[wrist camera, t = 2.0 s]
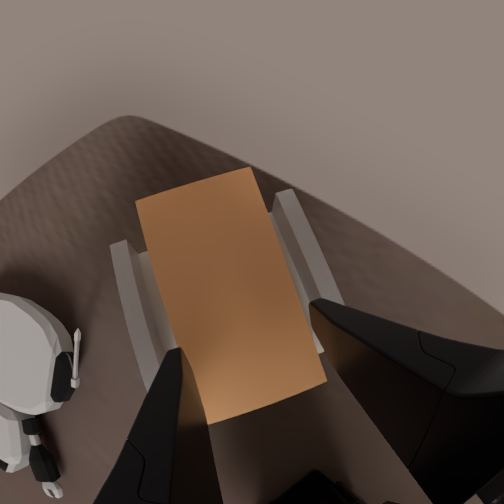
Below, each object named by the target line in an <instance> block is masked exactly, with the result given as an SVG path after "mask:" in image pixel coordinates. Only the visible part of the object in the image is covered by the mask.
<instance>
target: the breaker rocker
mask: <svg viewBox="0 0 504 504" xmlns="http://www.w3.org/2000/svg"><path fill="white" fill-rule="evenodd" d="M135 202H136V206H137V211H138V215H139V219H140V223H141V227H142V231H143V235H144V239H145V242H146V246H147V250H148V254H149V257H150V261H151V264H152V268H153V271H154V275H155V278H156V282H157V285H158V288H159V291H160V295H161V298H162V301H163V304H164V307H165V311H166V314H167V317H168V320H169V323H170V326H171V329H172V332H173V335H174V338H175V340H176V343H177V346H178V347H181V348H182V349H183V351H184V353H185V355H186V357H187V359H188V361H189V363H190V365H191V368H192V370H193V373H194V377H195V380H196V384H197V387H198V391H199V394H200V397H201V401H202V404H203V407H204V411H205V414H206V419H207V423H208V425H209V424H212V423H216V422H219V421H222V420H225V419H229V418H232V417H235V416H238V415H241V414H244V413H247V412H250V411H253V410H256V409H259V408H261V407H264V406H267V405H270V404H272V403H275V402H278V401H280V400H283V399H286V398H288V397H291V396H293V395H296V394H298V393H301V392H303V391H306V390H308V389H310V388H313V387H315V386H317V385H320V384H322V383H324V382H327V379H326V376H325V373H324V370H323V367H322V364H321V361H320V358H319V355H318V352H317V349H316V346H315V343H314V340H313V337H312V334H311V331H310V328H309V326H308V323H307V320H306V317H305V314H304V311H303V308H302V305H301V303H300V300H299V297H298V294H297V291H296V288H295V286H294V283H293V280H292V277H291V274H290V272H289V269H288V266H287V263H286V261H285V258H284V255H283V252H282V250H281V247H280V244H279V241H278V239H277V236H276V233H275V230H274V228H273V225H272V222H271V220H270V217H269V214H268V212H267V209H266V206H265V204H264V201H263V198H262V196H261V193H260V190H259V188H258V185H257V183H256V180H255V177H254V175H253V172H252V170H251V167H246V168H242V169H239V170H235V171H231V172H228V173H224V174H220V175H217V176H213V177H210V178H206V179H203V180H200V181H196V182H193V183H190V184H186V185H183V186H180V187H177V188H173V189H170V190H167V191H164V192H161V193H158V194H155V195H152V196H149V197H146V198H143V199H140V200H137V201H135Z"/></svg>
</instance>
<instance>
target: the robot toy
mask: <svg viewBox="0 0 504 504" xmlns="http://www.w3.org/2000/svg"><path fill="white" fill-rule="evenodd" d="M80 340H81V332H80V330H79V328H78V329H77V330H76V332H75V333H74V341H75V346H74V350H73V345H72V340H71V336H70V335H69V333H68V332H67V330H66V328H65V327H64V325H63V324H62V323H61V322H60V321H59V320H58V319H57V318H56V317H55V316H53V315H52V314H51V313H50V312H48V311H47V310H45V309H44V308H42V307H41V306H39V305H38V304H36V303H35V302H33V301H32V300H29V299H26V298H22V297H19V296H15V295H10V294H5V293H0V468H1V469H2V470H4V471H6V472H11V473H13V472H15V471H17V470H20V469H22V468H24V467H26V466H28V464H29V463H30V466H31V468H32V471H33V473H34V476H35V479H36V480H37V481H40V482H43V489H44V491H45V492H46V494H47V495H48V496H50V497H54V496H55V497H56V498H61V497H62V496H63V490H62V486H61V485H60V484H59V483H58V482H57V481H56V480H57V479H59V477H60V473H59V470H58V468H57V465H56V462H55V459H54V457H53V456H52V454H51V453H50V452H49V451H48V450H47V449H46V448H45V447H44V446H43V445H42V444H41V441H40V438H39V435H38V434H39V433H41V431H42V429H41V425H40V422H39V418H35V416H34V415H37V414H41V413H45V412H49V411H52V410H56V409H59V408H60V407H61V405H62V403H63V402H65V401H69V400H70V398H71V396H72V394H73V392H74V391H75V389H76V388H77V387H78V386H79V381H80V378H78V356H79V341H80Z"/></svg>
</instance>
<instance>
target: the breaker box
mask: <svg viewBox="0 0 504 504" xmlns="http://www.w3.org/2000/svg"><path fill="white" fill-rule="evenodd" d="M268 214H269V217H270V220H271V222H272V225H273V228H274V230H275V233H276V236H277V239H278V241H279V244H280V247H281V250H282V252H283V255H284V258H285V261H286V263H287V266H288V269H289V272H290V274H291V277H292V280H293V283H294V286H295V288H296V291H297V294H298V297H299V300H300V303H301V305H302V308H303V311H304V314H305V317H306V320H307V323H308V326H309V328H310V331H311V334H312V337H313V340H314V343H315V346H316V349H317V352H318V354H319V353H322V352H324V349H323V348H322V346H321V344H320V342H319V340H318V339H317V337H316V335H315V333H314V331H313V329H312V326H311V322H310V315H309V307H308V305H309V302H310V301H313V300H315V299H318V298H324V299H327V300H330V301H333V302H336V303H339V304H342V305H345V304H344V301H343V299H342V297H341V294H340V292H339V290H338V287H337V285H336V283H335V280H334V278H333V276H332V273H331V271H330V269H329V267H328V264H327V262H326V260H325V257H324V255H323V253H322V251H321V249H320V246H319V244H318V242H317V240H316V238H315V235H314V233H313V231H312V229H311V227H310V225H309V222H308V220H307V218H306V216H305V214H304V212H303V210H302V208H301V206H300V203H299V201H298V199H297V197H296V195H295V193H294V191H293V189H288V190H284V191H281V192H277V193H276V194H275V199H274V203H273V208H272V212H270V213H268ZM110 250H111V256H112V261H113V266H114V271H115V276H116V281H117V285H118V290H119V294H120V299H121V303H122V307H123V311H124V315H125V319H126V323H127V327H128V331H129V334H130V338H131V342H132V345H133V349H134V352H135V356H136V359H137V362H138V366H139V369H140V372H141V375H142V378H143V381H144V384H145V387H146V390H147V393H148V391H149V389H150V386H151V384H152V382H153V380H154V378H155V376H156V374H157V371H158V369H159V367H160V365H161V363H162V361H163V359H164V357H165V355H166V352H167V351H168V350H170V349H174V348H177V347H178V346H177V343H176V340H175V338H174V335H173V332H172V329H171V326H170V323H169V320H168V317H167V314H166V311H165V307H164V304H163V301H162V298H161V295H160V291H159V288H158V285H157V282H156V278H155V275H154V271H153V268H152V264H151V261H150V257H149V254H148V251H146V252H143V253H140V254H137V252H136V251H135V250H134V249H133V247H132V246H131V245H130V244H129V242H128V241H127V240H123V241H120V242H117V243H114V244H111V245H110Z"/></svg>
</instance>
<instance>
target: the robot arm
mask: <svg viewBox="0 0 504 504" xmlns="http://www.w3.org/2000/svg"><path fill="white" fill-rule="evenodd" d="M308 307H309V315H310V322H311V326H312V329H313V331H314V333H315V335H316V337H317V339H318V340H319V342H320V344H321V346H322V348H323V349H324V351H325V353H326V355H327V357H328V359H329V360H330V362H331V364H332V366H333V367H334V369H335V370H336V372H337V373H338V375H339V376H340V378H341V379H342V380H343V382H344V383H345V384H346V386H347V387H348V388H349V390H350V391H351V393H352V394H353V395H354V397H355V398H356V399H357V401H358V402H359V404H360V405H361V406H362V408H363V409H364V410H365V412H366V413H367V414H368V416H369V417H370V419H371V420H372V421H373V423H374V424H375V425H376V427H377V428H378V429H379V431H380V432H381V434H382V435H383V436H384V438H385V439H386V440H387V442H388V443H389V444H390V446H391V447H392V449H393V450H394V451H395V453H396V454H397V455H398V457H399V458H400V459H401V461H402V462H403V464H404V465H405V466H406V468H407V469H409V472H410V473H411V475H412V476H413V477H414V479H415V480H416V481H417V483H418V484H419V486H420V487H421V488H422V490H423V491H424V492H425V494H426V495H427V496H428V498H429V499H430V500H431V502H432V503H433V504H464V503H465V502H466V501H467V500H469V499H470V498H471V497H472V496H474V495H475V494H477V495H478V497H479V498H480V499H481V500H482V502H483V503H484V504H504V350H501V349H494V348H489V347H484V346H479V345H474V344H469V343H464V342H460V341H456V340H451V339H447V338H443V337H440V336H436V335H433V334H430V333H427V332H423V331H420V330H418V331H417V329H414V328H411V327H408V326H405V325H402V324H399V323H396V322H393V321H390V320H387V319H384V318H381V317H378V316H375V315H372V314H369V313H366V312H363V311H360V310H357V309H354V308H351V307H348V306H345V305H342V304H339V303H336V302H333V301H330V300H327V299H324V298H318V299H315V300H313V301H310V302H309V305H308ZM127 439H128V440H126V441H125V444H124V446H123V448H122V450H121V452H120V455H119V457H118V459H117V461H116V463H115V465H114V467H113V469H112V471H111V472H110V474H109V476H108V478H107V480H106V482H105V483H104V485H103V487H102V488H101V490H100V492H99V494H98V495H97V497H96V499H95V500H94V502H93V504H223V499H222V495H221V490H220V486H219V481H218V476H217V472H216V467H215V462H214V457H213V451H212V446H211V441H210V435H209V430H208V424H207V419H206V414H205V411H204V407H203V404H202V401H201V397H200V394H199V391H198V387H197V384H196V380H195V377H194V373H193V370H192V368H191V365H190V363H189V361H188V359H187V357H186V355H185V353H184V351H183V349H182V348H181V347H177V348H174V349H170V350H168V351H167V352H166V355H165V357H164V359H163V361H162V363H161V365H160V367H159V369H158V371H157V374H156V376H155V378H154V380H153V382H152V384H151V386H150V389H149V391H148V393H147V395H146V397H145V399H144V402H143V404H142V406H141V408H140V410H139V413H138V415H137V417H136V419H135V421H134V424H133V426H132V428H131V430H130V433H129V435H128V437H127ZM316 474H317V475H318V477H317V478H316V479H313V478H312V477H313V476H314V475H316ZM270 504H367V503H366V502H365V501H364V500H363V499H362V498H361V497H360V496H358V495H357V494H356V493H355V492H353V491H352V490H351V489H350V488H349V487H347V486H346V485H345V484H344V483H343V482H341V481H337V482H336V483H335V484H334V483H333V482H332V481H331V480H330V479H328V478H327V477H326V476H325V475H324V474H323V473H321V472H320V471H319V470H312V471H311V472H309V473H308V474H307V475H306V476H305V477H303V478H302V479H301V480H300V481H299V482H297V483H296V484H295V485H294V486H292V487H291V488H290V489H288V490H287V491H286V492H285V493H283V494H282V495H281V496H279V497H278V498H277V499H275V500H274V501H273V502H271V503H270ZM383 504H399V503H394V502H390V501H386V502H384V503H383Z"/></svg>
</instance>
